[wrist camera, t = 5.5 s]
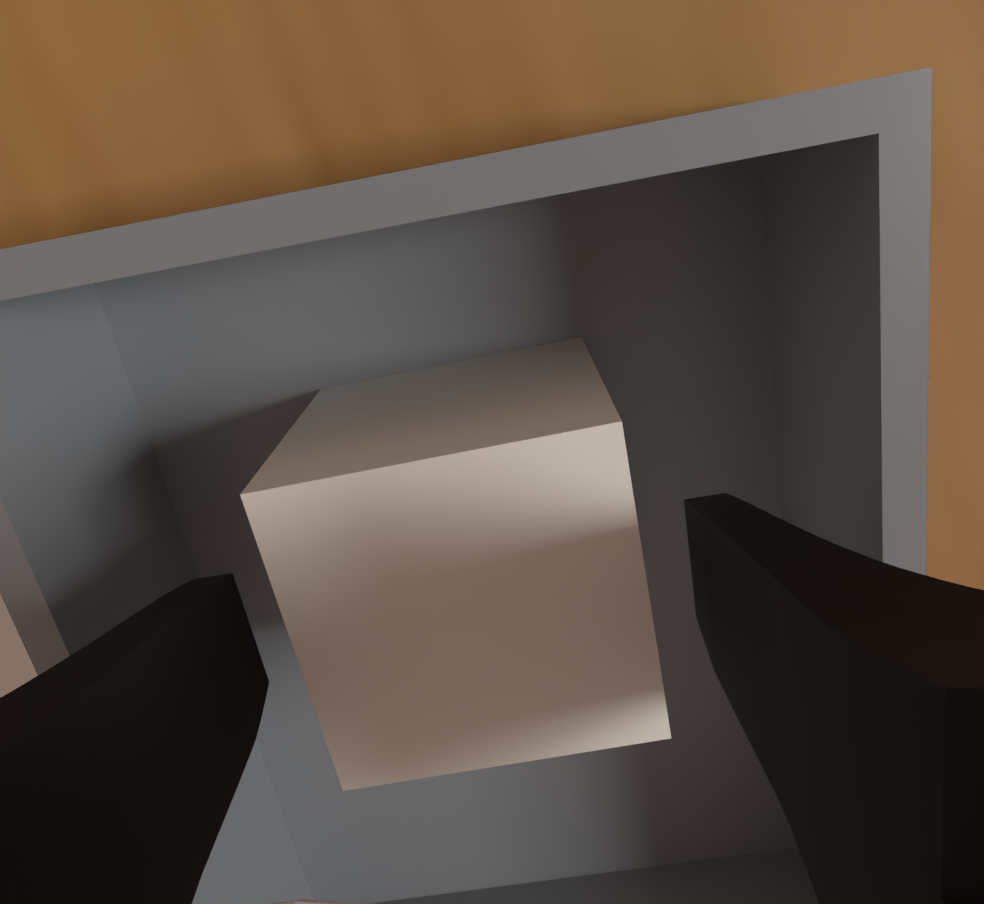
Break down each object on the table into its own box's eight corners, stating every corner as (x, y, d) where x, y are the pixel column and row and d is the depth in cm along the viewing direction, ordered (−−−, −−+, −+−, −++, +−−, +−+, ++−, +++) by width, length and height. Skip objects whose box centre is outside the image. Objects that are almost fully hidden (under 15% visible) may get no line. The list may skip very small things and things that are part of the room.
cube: (620, 570, 16) (671, 738, 11) (386, 612, 17) (342, 790, 12) (581, 336, 14) (621, 421, 10) (320, 388, 15) (240, 494, 10)
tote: (818, 841, 20) (919, 1058, 15) (305, 909, 20) (249, 1132, 16) (781, 98, 14) (932, 67, 9) (62, 239, 14) (-145, 278, 10)
